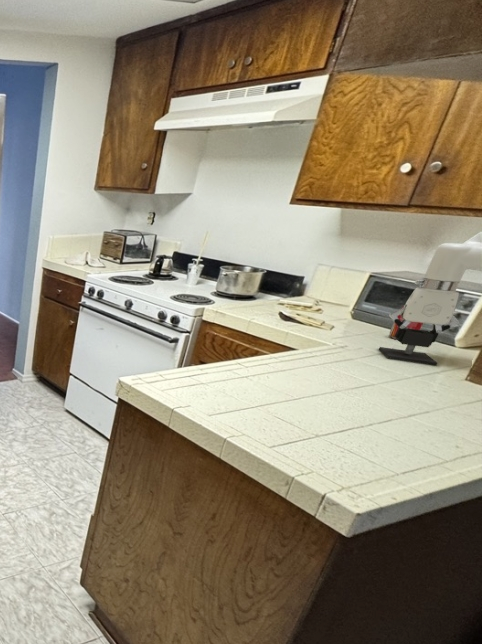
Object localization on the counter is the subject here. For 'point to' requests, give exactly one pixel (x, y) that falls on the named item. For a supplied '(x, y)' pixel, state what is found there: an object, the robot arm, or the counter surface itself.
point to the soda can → (411, 326)
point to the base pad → (408, 355)
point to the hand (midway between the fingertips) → (412, 341)
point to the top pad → (417, 337)
